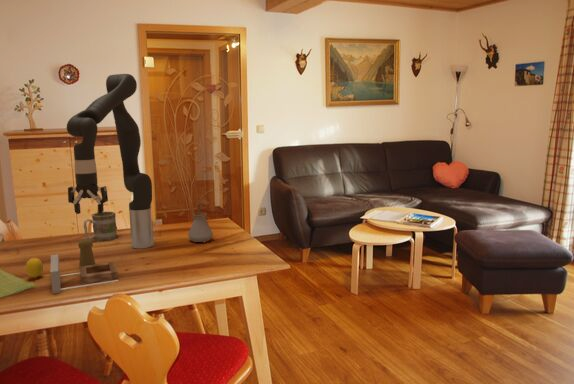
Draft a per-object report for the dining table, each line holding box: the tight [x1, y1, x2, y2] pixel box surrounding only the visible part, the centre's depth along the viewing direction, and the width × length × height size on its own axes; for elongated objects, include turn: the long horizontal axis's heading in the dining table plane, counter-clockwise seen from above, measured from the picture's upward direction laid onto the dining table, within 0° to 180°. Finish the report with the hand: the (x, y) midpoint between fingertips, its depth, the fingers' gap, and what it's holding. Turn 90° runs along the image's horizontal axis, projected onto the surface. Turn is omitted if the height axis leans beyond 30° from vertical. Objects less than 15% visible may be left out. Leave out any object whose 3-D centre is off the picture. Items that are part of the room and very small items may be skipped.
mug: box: [83, 211, 118, 243], centre depth 222 cm, size 16×11×12 cm
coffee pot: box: [187, 202, 214, 243], centre depth 224 cm, size 21×12×15 cm, turn 12°
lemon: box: [25, 257, 44, 279], centre depth 173 cm, size 6×6×8 cm
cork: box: [77, 238, 96, 269], centre depth 185 cm, size 6×6×11 cm
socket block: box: [79, 261, 119, 285], centre depth 174 cm, size 12×12×3 cm
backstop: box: [49, 253, 119, 295], centre depth 171 cm, size 21×20×8 cm
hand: (89, 213), depth 180 cm, fingers open, 8 cm apart
